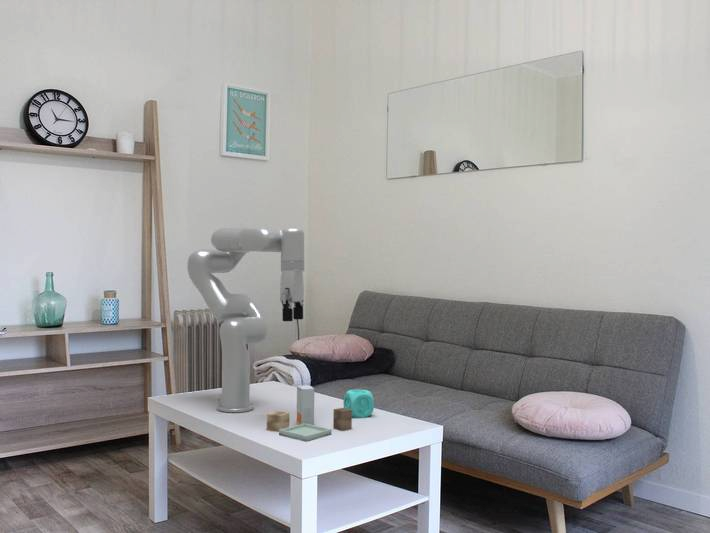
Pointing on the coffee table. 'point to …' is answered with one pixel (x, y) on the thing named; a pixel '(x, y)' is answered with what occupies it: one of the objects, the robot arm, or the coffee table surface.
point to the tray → (305, 432)
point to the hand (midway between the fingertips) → (293, 320)
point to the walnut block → (342, 419)
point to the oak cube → (277, 420)
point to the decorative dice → (359, 402)
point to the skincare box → (305, 404)
